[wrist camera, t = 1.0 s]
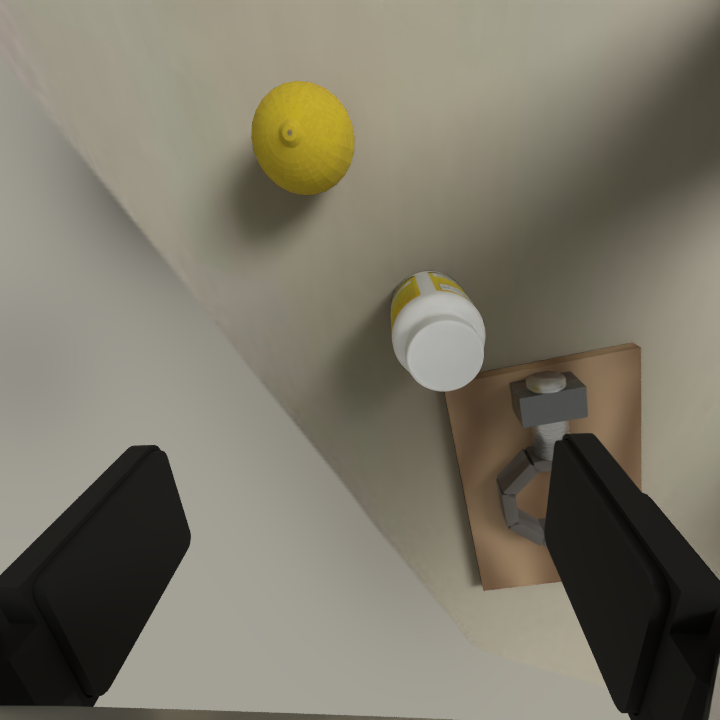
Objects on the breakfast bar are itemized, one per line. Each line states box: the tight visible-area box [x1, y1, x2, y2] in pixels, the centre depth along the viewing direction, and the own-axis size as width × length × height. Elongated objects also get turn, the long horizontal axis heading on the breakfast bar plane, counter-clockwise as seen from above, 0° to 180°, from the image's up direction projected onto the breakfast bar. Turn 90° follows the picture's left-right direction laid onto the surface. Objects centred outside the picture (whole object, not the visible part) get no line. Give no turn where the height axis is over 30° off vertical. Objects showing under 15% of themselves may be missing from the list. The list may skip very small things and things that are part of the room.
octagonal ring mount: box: [444, 343, 641, 591], centre depth 34 cm, size 14×22×3 cm, turn 14°
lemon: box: [251, 81, 355, 195], centre depth 23 cm, size 6×6×8 cm
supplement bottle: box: [390, 271, 485, 392], centre depth 26 cm, size 5×5×10 cm
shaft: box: [509, 371, 588, 460], centre depth 31 cm, size 6×4×4 cm
